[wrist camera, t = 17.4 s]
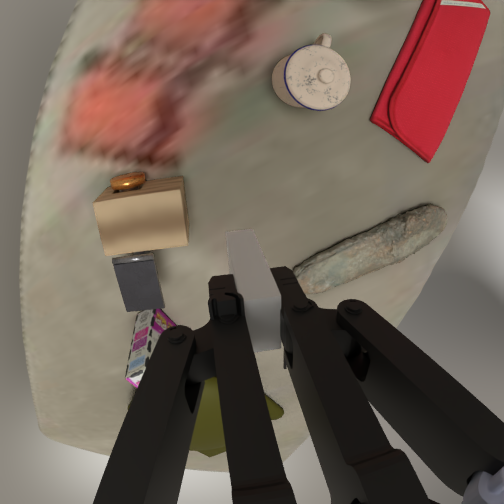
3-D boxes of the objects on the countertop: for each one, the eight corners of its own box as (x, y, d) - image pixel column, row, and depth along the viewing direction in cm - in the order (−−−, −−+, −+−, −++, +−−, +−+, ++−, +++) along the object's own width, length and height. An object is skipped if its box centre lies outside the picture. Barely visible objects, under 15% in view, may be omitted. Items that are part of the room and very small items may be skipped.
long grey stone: (280, 255, 58) (295, 294, 63) (286, 271, 53) (302, 311, 58) (439, 190, 55) (441, 230, 60) (455, 200, 50) (455, 242, 56)
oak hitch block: (107, 187, 46) (92, 202, 39) (182, 175, 47) (180, 189, 40) (117, 233, 49) (105, 256, 42) (189, 224, 51) (188, 245, 44)
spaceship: (286, 409, 78) (295, 438, 69) (197, 447, 82) (199, 474, 73) (204, 337, 62) (207, 373, 53) (106, 391, 66) (100, 423, 57)
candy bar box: (135, 314, 57) (122, 378, 42) (155, 301, 56) (146, 367, 42) (172, 349, 62) (170, 414, 47) (191, 339, 61) (193, 404, 47)
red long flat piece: (365, 119, 48) (376, 121, 44) (434, -34, 34) (445, -38, 30) (424, 162, 53) (436, 166, 49) (483, 14, 39) (494, 13, 35)
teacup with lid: (315, 117, 46) (348, 122, 36) (261, 97, 44) (280, 95, 33) (339, 51, 42) (375, 42, 31) (286, 29, 39) (311, 10, 29)
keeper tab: (113, 256, 42) (111, 259, 41) (153, 251, 43) (152, 254, 42) (127, 308, 46) (126, 312, 45) (164, 304, 47) (164, 308, 46)
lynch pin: (114, 175, 45) (106, 183, 40) (146, 170, 46) (141, 178, 41) (130, 252, 51) (124, 267, 46) (160, 248, 52) (156, 263, 47)
